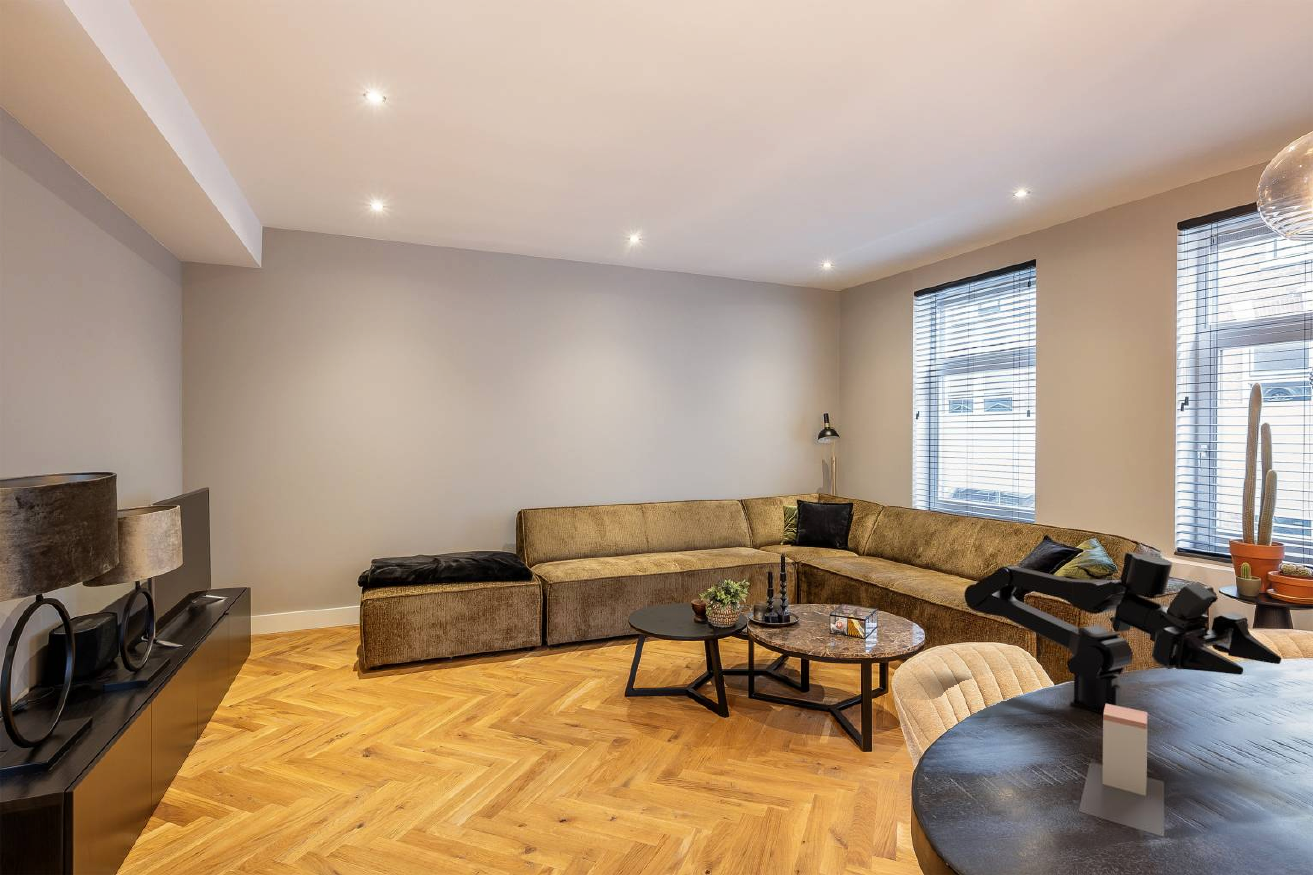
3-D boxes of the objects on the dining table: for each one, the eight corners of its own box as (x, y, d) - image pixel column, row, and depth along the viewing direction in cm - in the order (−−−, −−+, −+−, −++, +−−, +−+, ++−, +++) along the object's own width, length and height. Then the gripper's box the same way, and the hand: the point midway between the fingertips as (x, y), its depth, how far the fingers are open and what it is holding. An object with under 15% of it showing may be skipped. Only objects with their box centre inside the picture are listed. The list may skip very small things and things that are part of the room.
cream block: (1104, 770, 98) (1105, 703, 98) (1146, 781, 95) (1147, 712, 95) (1102, 783, 94) (1103, 714, 94) (1145, 795, 91) (1146, 723, 91)
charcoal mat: (1089, 765, 101) (1089, 762, 101) (1164, 785, 95) (1164, 781, 95) (1078, 814, 87) (1078, 810, 87) (1164, 840, 82) (1164, 836, 82)
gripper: (1126, 583, 110) (1232, 627, 96) (1199, 569, 116) (1310, 608, 102) (1115, 644, 112) (1218, 695, 98) (1188, 627, 119) (1294, 673, 104)
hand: (1261, 666), depth 101 cm, fingers open, 9 cm apart
